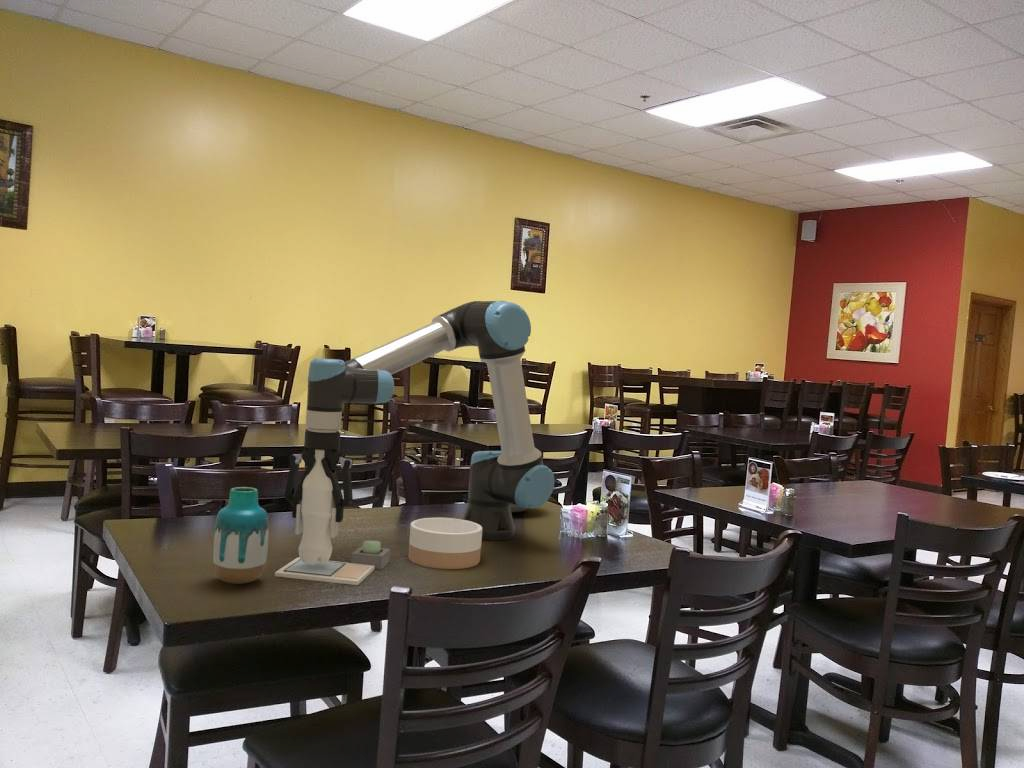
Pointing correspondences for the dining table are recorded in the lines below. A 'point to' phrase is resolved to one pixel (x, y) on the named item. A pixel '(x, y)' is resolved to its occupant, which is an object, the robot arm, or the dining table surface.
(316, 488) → the water bottle
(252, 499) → the vase
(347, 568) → the cream rectangular board
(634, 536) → the dining table surface
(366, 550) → the button
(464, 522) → the bowl
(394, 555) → the dining table surface
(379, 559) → the button housing
